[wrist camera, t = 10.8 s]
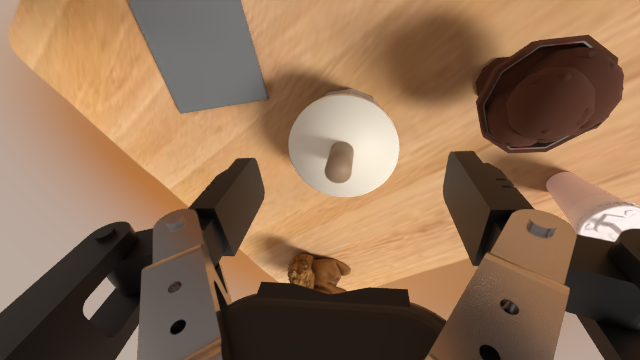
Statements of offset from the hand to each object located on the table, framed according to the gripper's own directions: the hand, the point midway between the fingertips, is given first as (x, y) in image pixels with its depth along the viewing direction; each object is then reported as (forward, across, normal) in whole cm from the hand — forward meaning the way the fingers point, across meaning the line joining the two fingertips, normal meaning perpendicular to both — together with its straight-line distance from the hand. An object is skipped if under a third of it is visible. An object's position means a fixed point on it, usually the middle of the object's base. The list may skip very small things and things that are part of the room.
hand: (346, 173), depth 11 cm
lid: (+21, +2, +9) cm, 23 cm away
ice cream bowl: (+27, -18, +3) cm, 32 cm away
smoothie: (+26, -29, +18) cm, 43 cm away
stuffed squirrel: (+27, +10, +40) cm, 49 cm away
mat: (+28, +21, -3) cm, 35 cm away
